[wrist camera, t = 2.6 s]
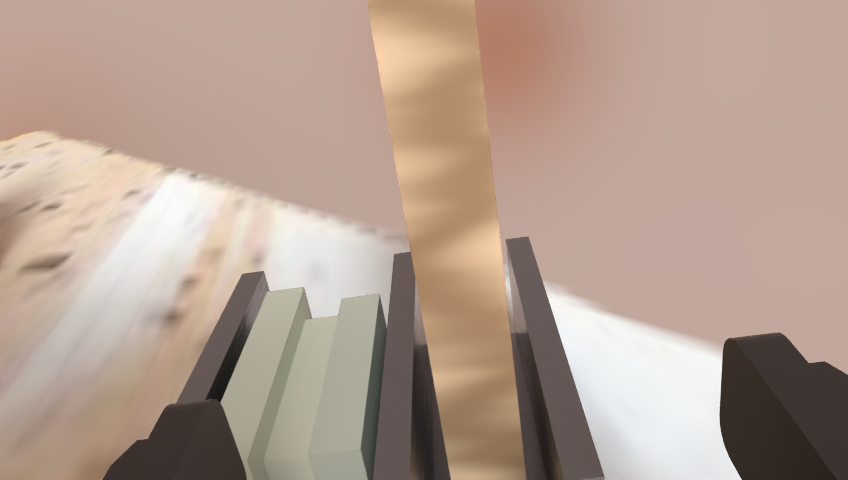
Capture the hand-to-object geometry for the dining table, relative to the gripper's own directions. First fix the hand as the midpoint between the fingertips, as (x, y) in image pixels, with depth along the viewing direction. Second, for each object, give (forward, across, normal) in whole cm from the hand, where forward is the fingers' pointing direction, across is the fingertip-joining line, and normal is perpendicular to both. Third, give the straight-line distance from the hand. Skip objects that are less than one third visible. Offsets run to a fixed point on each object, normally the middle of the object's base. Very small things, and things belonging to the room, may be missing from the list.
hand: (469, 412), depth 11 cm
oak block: (+11, 0, +11) cm, 16 cm away
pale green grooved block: (+11, +6, +11) cm, 17 cm away
